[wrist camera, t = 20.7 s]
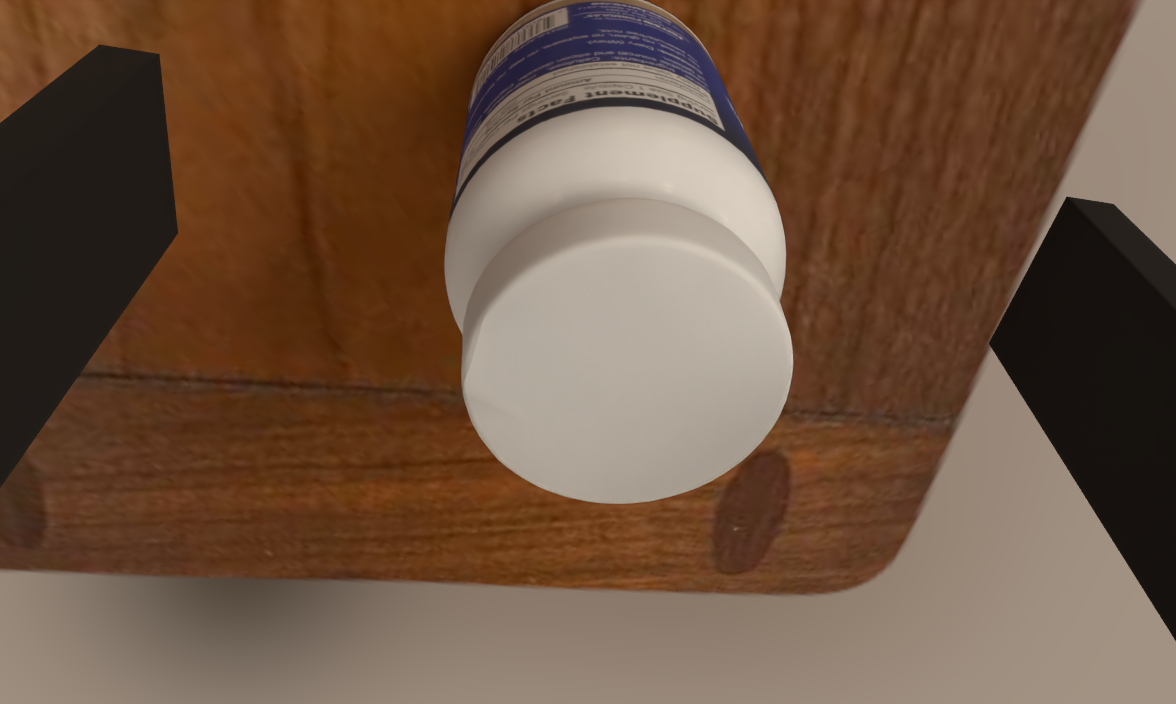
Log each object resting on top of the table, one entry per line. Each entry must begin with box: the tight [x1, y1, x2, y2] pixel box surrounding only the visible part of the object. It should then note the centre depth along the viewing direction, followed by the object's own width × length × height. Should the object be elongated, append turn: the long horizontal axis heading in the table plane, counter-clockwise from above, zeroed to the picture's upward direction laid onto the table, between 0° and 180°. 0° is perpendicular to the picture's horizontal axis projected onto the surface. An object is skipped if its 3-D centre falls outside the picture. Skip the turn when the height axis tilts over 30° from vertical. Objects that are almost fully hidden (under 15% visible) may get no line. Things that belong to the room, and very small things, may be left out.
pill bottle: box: [444, 0, 793, 504], centre depth 17 cm, size 6×6×10 cm
